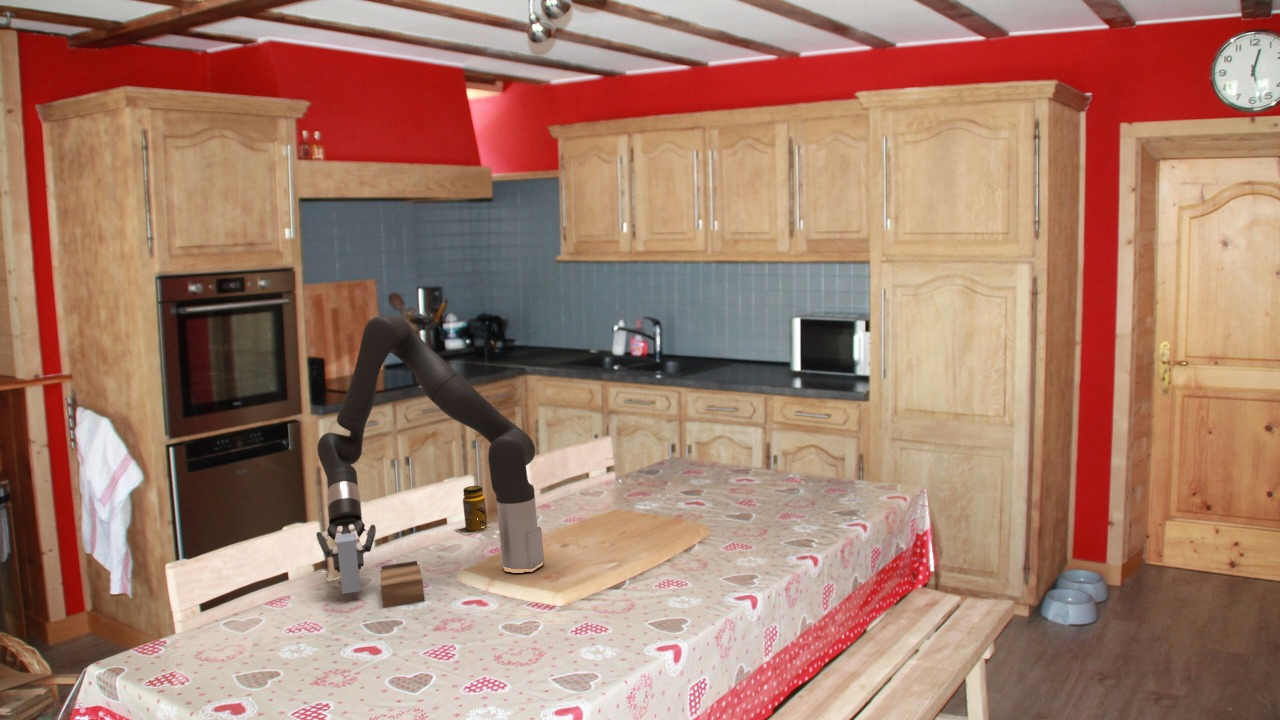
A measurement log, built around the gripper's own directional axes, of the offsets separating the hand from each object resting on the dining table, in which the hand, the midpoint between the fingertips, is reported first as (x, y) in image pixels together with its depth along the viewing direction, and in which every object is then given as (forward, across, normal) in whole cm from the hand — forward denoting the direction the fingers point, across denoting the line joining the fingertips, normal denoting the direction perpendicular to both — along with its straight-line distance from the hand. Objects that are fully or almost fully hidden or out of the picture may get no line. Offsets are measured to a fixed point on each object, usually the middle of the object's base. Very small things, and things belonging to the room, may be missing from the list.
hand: (349, 568), depth 238 cm
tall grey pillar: (+2, 0, +5) cm, 5 cm away
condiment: (-26, +33, +37) cm, 56 cm away
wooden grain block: (+5, +11, +5) cm, 13 cm away
